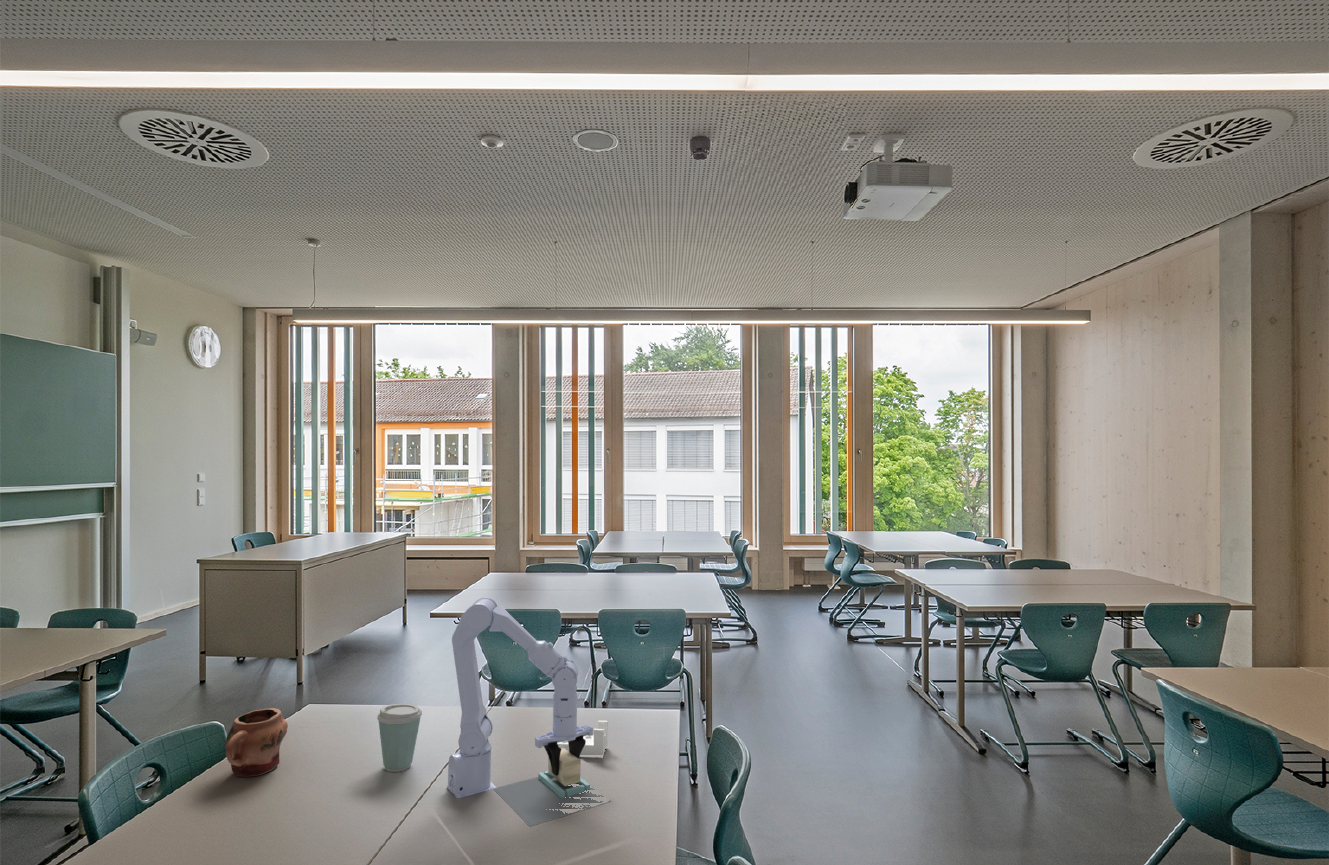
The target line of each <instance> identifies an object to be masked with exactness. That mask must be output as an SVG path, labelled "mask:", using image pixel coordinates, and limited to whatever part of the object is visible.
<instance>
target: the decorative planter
mask: <svg viewBox="0 0 1329 865" xmlns="http://www.w3.org/2000/svg"><path fill="white" fill-rule="evenodd" d="M288 726H289V725H288V722H287V720H286V719H285V718H284V716H283V714H282V711H281V710H280V708H279V709H278V708H274V707H270V708H263V709H257V710H252V711H249V712H247V713H244V714H241V715H240V716H237V717H236V718H235V719H234V720H233V722H232V725H231V727H230V729H229V731H228V733H227V735H226V738H225V757H226V760H227V761H228V763H229V764H230V767H231V771H232V773H233V775H234V776H237V777H242V778H243V777H256V776H261V775H264V774H266V773H268V772H270V771H272V770H274V769H275V768H277V766H278V765H280V748H281V744H282V742H283V740H284V738H285V736H286V734H287V732H288V728H289V727H288Z"/></svg>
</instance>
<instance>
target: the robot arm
mask: <svg viewBox="0 0 1329 865" xmlns="http://www.w3.org/2000/svg"><path fill="white" fill-rule="evenodd" d="M488 627H490V628H489V632H502V633H503V634H505V635H506V636H508V638H510V639H512V641H513V642H515V643H516V644H518V645H519V646H520V647H521V648H522V649H523V650H525V651H526V652H527V655H528V661H530V663H532V664H533V665H534V666H535V667H536V668H537V669H539V670H540V671H541V672H542V673H543V674H544V675H546V677H548V678H551V684H552V685H553V688H554V689H553V690H554V692H553V696H552V697H553V702H552V704H553V705H552V731H549V732H547V733H544V734H542V735H540V736H536V737H534V746H535V747H536V748H538V749H542V748H543V747H544V749H545V752H546V754H547V757H549V760H550V763H551V767H552V773H553V774H554V775H558V774H559V759H560V753H561V748H560V747H558V744H557V743H558V742H562V741H566V740H567V741H568V744H569V752H570V753H571V754H573V755H574V756H575V757H577V758H578V759H579V760H580V758H579V756H580V754H581V751H582V749H583V748H584V746H585V743H586V740H585V739H583V736H587V735H588V736H592V735H594V727H592V726H591V725H590V724H588V725H583V726H577V724H578V721H577V720H578V716H577V715H578V693H577V690H578V686H577V683H578V676H579V669H578V666H577V665H576V663H575V662H574V661H573V660H571V659H569V658H568V657H567V656H564V655H562V654H561V653H560V652H558V651H557V650H556V649H555V648H554V644H553V642H551V641H549V642H548V641H546V640H537V639H536V638H535V637H534V636H533V635H531V633H530V632H528V630H526V628H524V627H523V625H521V623H519V621H517V620H516V619H515V618H514V617H513V616H512V615H511V613H510V612H508V611H507V610H506V609H505V607H503V606H502V605H501V604H497V603H496V601H495V600H494V599H492V598H490V597H481V598H479V599H477V600H476V601H475V602H474V603H473V604H472V605H471V606H469V607H468V608H467V609H466V610H465V611H464V613H462V614H461V615H460V618H459V622H458V624H456V628H455V629H454V631H453V634H452V637H451V643H452V645H451V646H452V652H453V658H454V664H455V672H456V679H457V687H458V688H457V689H458V694H459V701H460V702H459V703H460V707H461V717H460V723H459V724H460V726H459V727H460V734H459V738H458V748H459V751H457V752H455V753H452V754H450V756H449V758H448V765H447V766H448V767H447V768H448V770H447V773H448V774H447V785H446V788H447V789H448V790H449V791H450V792H451V793H452V794H453V795H454V796H455V797H456V798H457V799H461V798H464V797H468V796H472V795H475V794H476V795H477V794H478V793H483V792H486V791H490V790H491V791H492V790H494V788H497V786H496V785H495V784H494V783H493V782H492V781H491V771H492V770H491V768H492V766H491V765H492V764H491V763H492V761H491V760H492V744H491V743H490V741H489V737H490V736H491V734H492V733H493V728H494V727H493V722H492V720H491V719H490V718H489V716H488V714H487V713H488V712H487V709H486V707H485V706H484V702H483V695H482V688H481V682H480V681H481V680H480V673H479V665H478V660H477V653H476V652H477V651H476V645H475V639H476V638H477V637H478V636H479V635H480V633H482V632H483V631H485V630H486V629H487V628H488Z"/></svg>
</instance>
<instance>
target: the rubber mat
mask: <svg viewBox="0 0 1329 865" xmlns="http://www.w3.org/2000/svg"><path fill="white" fill-rule="evenodd" d="M549 778H550V779H551V780H552V781H553V782H554V783H556V784H557V785H558V786H559V787H560V788H562V789H563V790H564V791H565V790H566V789H569V788H573V786H572V785H571V786H564V785H563V784H562V783H561V782H559V781H558V780H557V779H556V778H554V777H553V776H552V777H549ZM575 784H577V783H575ZM593 788H594V787H593ZM593 788H590V790H595V789H596V788H595V789H593ZM493 791H494V792H495V793H496V794H498V796H499V797H501V799H502V800H503V801H504V802H505V803H506V804H507V805H508V806H509V808H511V809H512V810H513V812H515V813H516V814H517V815H518V816H519V817H520V819H522V820H523V821H524V823H525V824H526V825H527V826H529V827H530V828H531V827H533V826H537V825H540V824H543V823H546V822H550V821H553V820H556V819H559V818H562V817H563V818H564V817H566V816H570V815H572V813H569V814H568V813H566V812H565V814H564V813H563V812H562V811H560V810H559V809H578V808H579V807H578V808H575V807H573V808H572V805H570V806H569V805H566V806H569V807H566V806H565V805H564V804H565V803H589V804H590V803H602V802H603V801H600V802H598V801H596V800H593V799H592V800H591V798H588V799H587V798H581V797H600V796H601V797H604V796H605V795H604V796H602V795H603V794H602V795H598V796H597V795H596V794H592V793H591V792H590V793H589V791H588V792H587V793H586V792H584V793H582V792H581V794H579V793H578V794H574V795H571V796H566V795H565V797H566V798H565V797H564V798H561V797H559V796H558V795H557V794H556V793H555V792H554V791H552V790H551V789H550V788H549V787H548V786H547V785H546V784H544V783H543V782H542V781H541V780H540V779H539V778H538V776H536V777H532V778H529V779H524V780H521V781H517V782H514V783H513V782H512V783H509V784H505V785H502V786H501V785H500V786H499V787H496V788H494V789H493ZM569 797H571V798H569ZM573 797H580V798H581V800H580V799H574V798H573ZM559 803H560V804H559ZM562 803H564V804H563V805H562ZM561 805H562V806H561ZM582 805H583V804H582ZM563 806H565V807H563ZM575 806H576V805H575ZM583 806H584V807H583V808H582V809H585V808H586V810H590V809H592V808H591V806H590V805H586V806H588V807H586V806H585V805H583ZM589 806H590V807H589ZM580 807H582V806H580ZM546 809H547V810H546ZM549 809H551V810H549ZM552 809H554V811H553V810H552ZM555 809H558V811H557V810H555ZM579 809H581V808H579Z"/></svg>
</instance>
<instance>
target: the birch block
mask: <svg viewBox="0 0 1329 865" xmlns="http://www.w3.org/2000/svg"><path fill="white" fill-rule="evenodd" d="M547 757H548V756H547ZM547 759H548V762H547V763H548V766H547V768H548V769H547V771H548V773H550V774H551V775H552V776H553V777H554V778H556V779H557V780H558V781H559V782H561V783H562V784H563V785H564V786H568V785H571V784H575V783H578V782H580V777H581V759H580V758H579V759H578V758H577V757H575V756H574V755H573V754H571V753H570V752H569V751H567V750H566V749H564V748H561V753H560V759H559V774H558V775H554V774H553V773H552V767H551V763H550V760H549V757H548V758H547Z"/></svg>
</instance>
